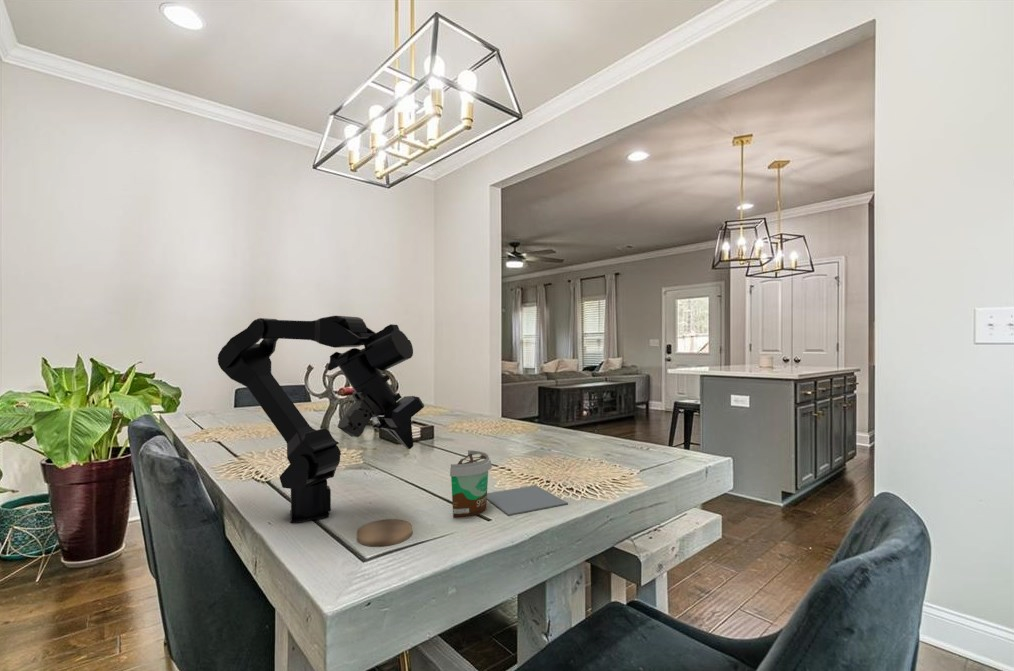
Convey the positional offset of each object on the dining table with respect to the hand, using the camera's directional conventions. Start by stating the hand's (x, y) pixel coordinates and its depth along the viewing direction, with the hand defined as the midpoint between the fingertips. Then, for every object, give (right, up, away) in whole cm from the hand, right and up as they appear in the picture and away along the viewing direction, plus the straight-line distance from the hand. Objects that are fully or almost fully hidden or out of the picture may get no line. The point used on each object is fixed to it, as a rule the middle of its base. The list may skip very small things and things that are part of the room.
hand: (410, 447), depth 89 cm
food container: (+12, -12, +1) cm, 17 cm away
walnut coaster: (-2, -12, -10) cm, 16 cm away
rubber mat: (+22, -12, +6) cm, 25 cm away
